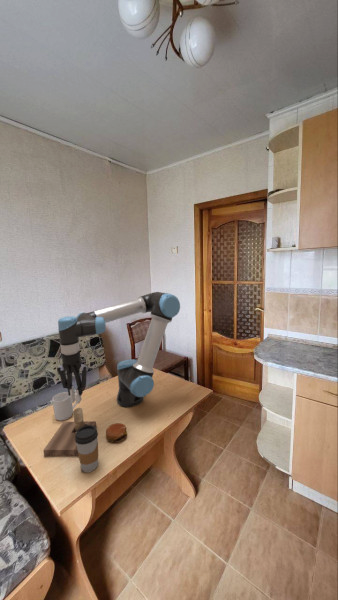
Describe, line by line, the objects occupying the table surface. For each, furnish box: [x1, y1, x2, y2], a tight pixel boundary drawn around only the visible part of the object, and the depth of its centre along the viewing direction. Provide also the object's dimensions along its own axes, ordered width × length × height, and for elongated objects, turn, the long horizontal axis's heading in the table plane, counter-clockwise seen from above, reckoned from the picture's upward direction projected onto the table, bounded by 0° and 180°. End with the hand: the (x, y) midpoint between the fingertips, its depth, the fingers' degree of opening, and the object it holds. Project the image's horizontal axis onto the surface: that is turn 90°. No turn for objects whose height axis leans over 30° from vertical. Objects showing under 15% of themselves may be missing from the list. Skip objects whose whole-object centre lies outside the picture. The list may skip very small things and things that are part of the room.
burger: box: [105, 422, 128, 443], centre depth 111 cm, size 10×9×5 cm
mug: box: [52, 391, 78, 422], centre depth 129 cm, size 12×9×11 cm
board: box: [43, 420, 97, 458], centre depth 110 cm, size 16×18×3 cm
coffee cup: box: [75, 425, 99, 473], centre depth 95 cm, size 8×8×15 cm
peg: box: [72, 407, 84, 432], centre depth 113 cm, size 4×4×12 cm
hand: (76, 401), depth 112 cm, fingers open, 2 cm apart
